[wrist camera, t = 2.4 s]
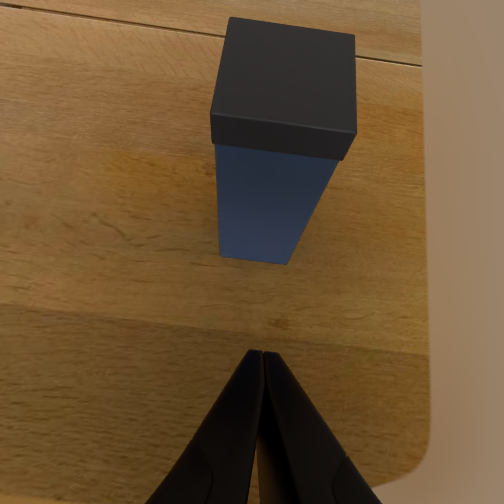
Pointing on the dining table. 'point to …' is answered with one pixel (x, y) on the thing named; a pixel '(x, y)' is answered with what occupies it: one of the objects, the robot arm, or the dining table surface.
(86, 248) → the dining table surface
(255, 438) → the robot arm
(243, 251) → the blue capped box
